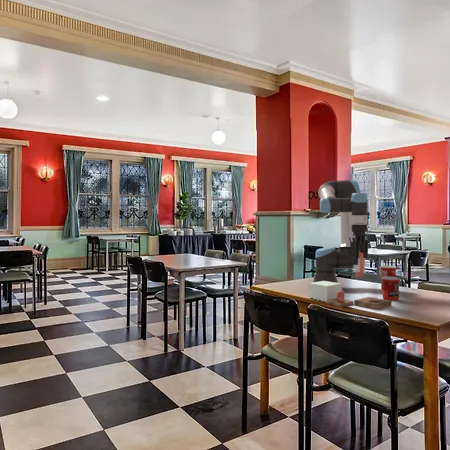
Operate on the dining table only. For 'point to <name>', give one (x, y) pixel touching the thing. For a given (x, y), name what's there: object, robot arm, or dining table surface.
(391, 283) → the canned food
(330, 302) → the board
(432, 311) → the dining table surface
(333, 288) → the block
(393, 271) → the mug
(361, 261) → the peg
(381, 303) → the wooden square frame
